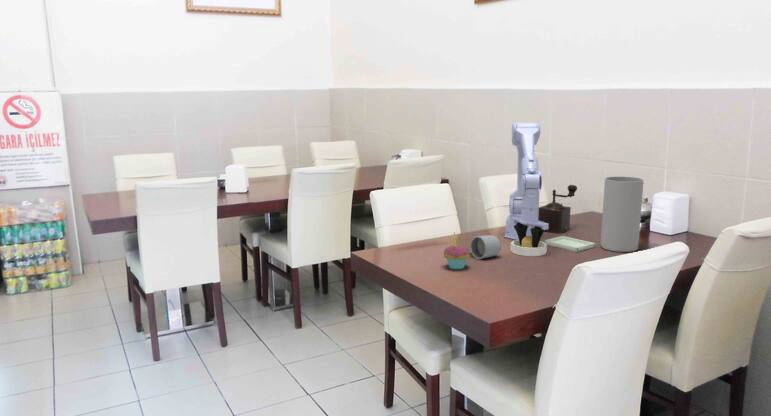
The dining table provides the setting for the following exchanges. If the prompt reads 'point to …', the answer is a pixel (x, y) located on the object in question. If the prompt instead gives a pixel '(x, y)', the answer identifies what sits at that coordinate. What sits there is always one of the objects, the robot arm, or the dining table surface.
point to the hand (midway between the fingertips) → (528, 245)
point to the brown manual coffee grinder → (557, 213)
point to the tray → (569, 243)
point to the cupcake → (456, 255)
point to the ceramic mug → (485, 246)
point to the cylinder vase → (621, 213)
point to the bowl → (528, 249)
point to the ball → (527, 241)
